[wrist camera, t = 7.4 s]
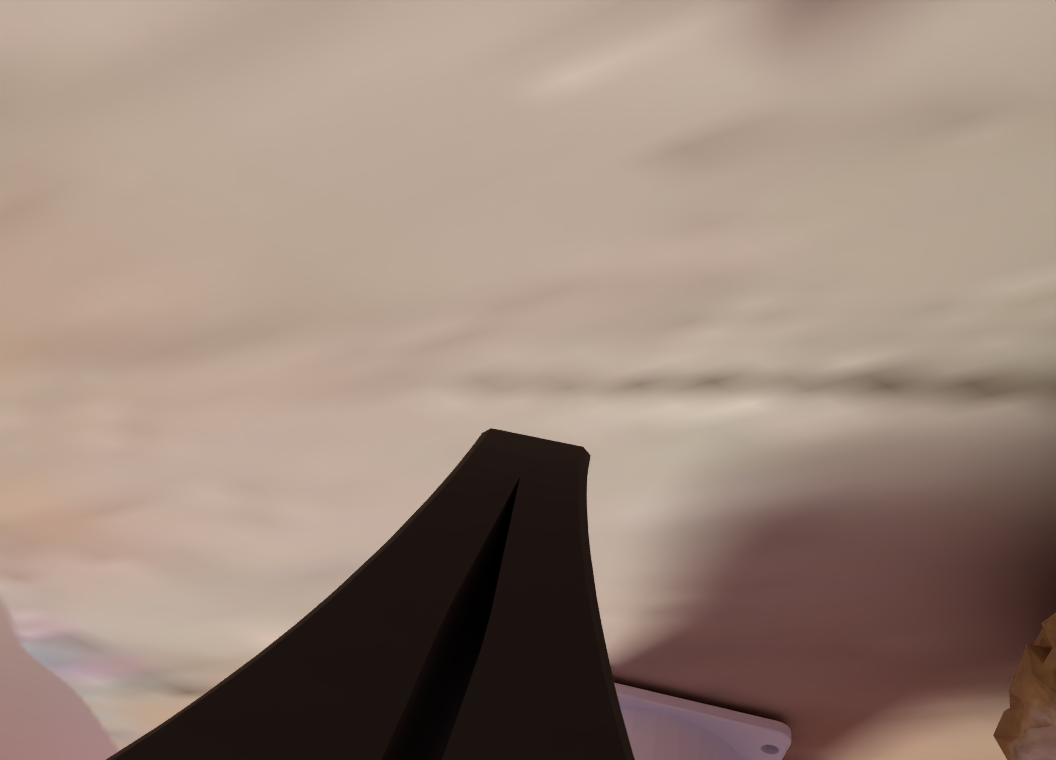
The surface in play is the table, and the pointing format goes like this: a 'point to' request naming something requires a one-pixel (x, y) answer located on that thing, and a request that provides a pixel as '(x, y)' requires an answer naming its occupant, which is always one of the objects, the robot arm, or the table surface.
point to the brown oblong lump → (1032, 702)
